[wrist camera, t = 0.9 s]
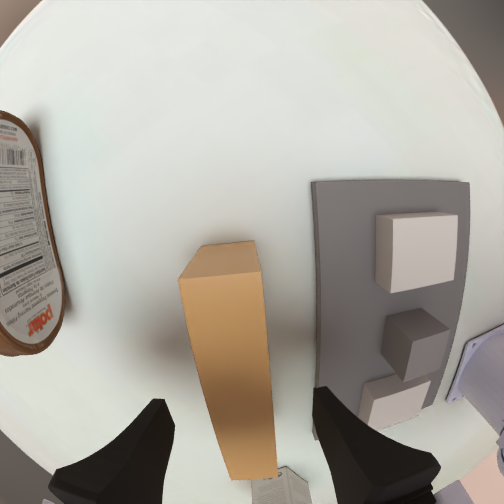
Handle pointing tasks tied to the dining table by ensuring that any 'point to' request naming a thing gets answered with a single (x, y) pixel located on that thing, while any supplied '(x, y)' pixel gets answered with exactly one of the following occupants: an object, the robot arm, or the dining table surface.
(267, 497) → the skincare box
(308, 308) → the dining table surface
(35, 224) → the tin
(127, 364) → the dining table surface
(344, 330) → the stand
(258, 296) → the frame
